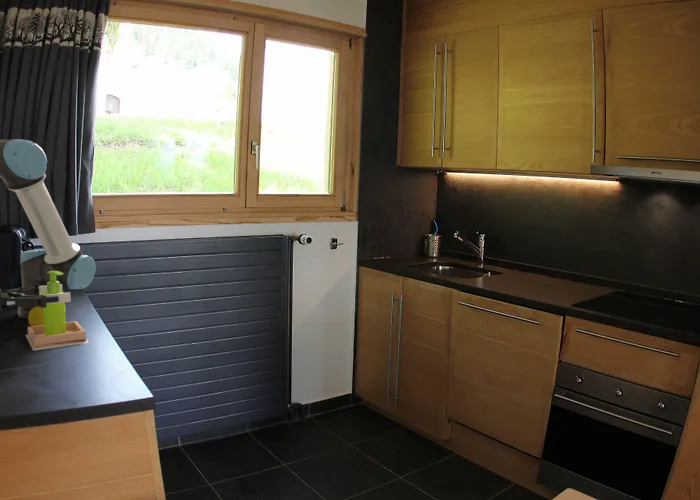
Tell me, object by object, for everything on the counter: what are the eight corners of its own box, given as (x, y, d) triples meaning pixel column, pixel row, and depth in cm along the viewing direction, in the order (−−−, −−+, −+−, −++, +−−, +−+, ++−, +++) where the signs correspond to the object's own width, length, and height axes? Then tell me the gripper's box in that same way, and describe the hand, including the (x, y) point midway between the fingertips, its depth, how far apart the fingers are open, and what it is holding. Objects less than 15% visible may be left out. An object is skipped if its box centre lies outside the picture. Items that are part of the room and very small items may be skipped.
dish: (28, 336, 191) (27, 326, 190) (77, 330, 199) (76, 320, 198) (34, 348, 179) (33, 338, 179) (86, 341, 187) (85, 331, 187)
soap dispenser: (54, 340, 184) (51, 273, 182) (40, 336, 188) (37, 271, 185) (72, 336, 189) (69, 271, 187) (58, 332, 193) (55, 268, 190)
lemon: (40, 333, 197) (39, 308, 195) (25, 332, 198) (23, 307, 196) (52, 328, 202) (50, 304, 201) (37, 327, 203) (35, 303, 202)
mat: (25, 336, 192) (25, 335, 192) (77, 330, 201) (77, 328, 201) (33, 352, 178) (33, 350, 178) (89, 344, 186) (89, 342, 186)
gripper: (-17, 304, 188) (59, 296, 200) (-11, 323, 167) (74, 313, 179) (-19, 280, 187) (58, 273, 198) (-13, 296, 166) (73, 288, 178)
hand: (66, 292), depth 189 cm, fingers open, 13 cm apart
